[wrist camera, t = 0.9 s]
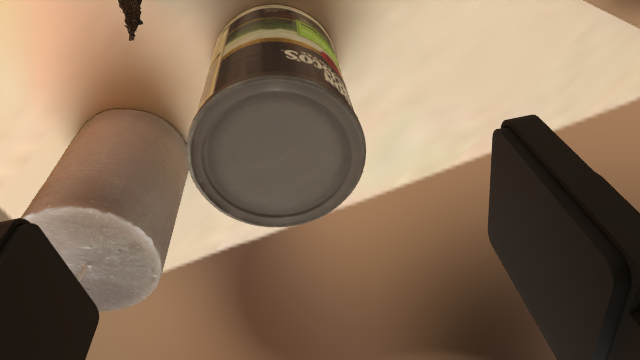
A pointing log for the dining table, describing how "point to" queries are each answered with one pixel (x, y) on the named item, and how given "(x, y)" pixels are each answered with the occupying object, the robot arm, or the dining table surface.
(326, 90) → the coffee can
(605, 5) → the rack
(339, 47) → the dining table surface
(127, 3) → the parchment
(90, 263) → the pillar candle
